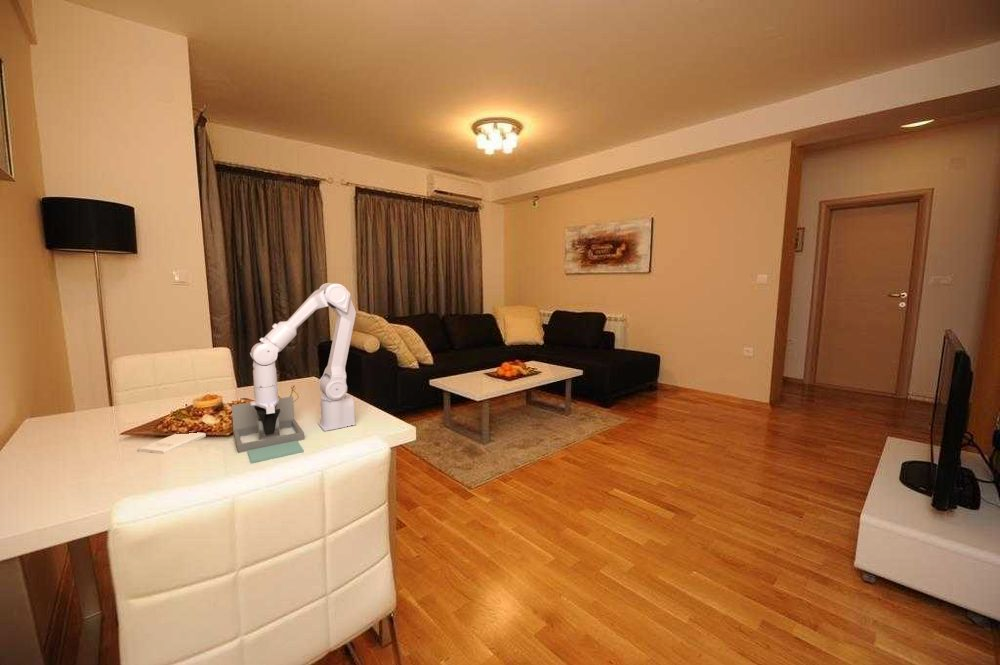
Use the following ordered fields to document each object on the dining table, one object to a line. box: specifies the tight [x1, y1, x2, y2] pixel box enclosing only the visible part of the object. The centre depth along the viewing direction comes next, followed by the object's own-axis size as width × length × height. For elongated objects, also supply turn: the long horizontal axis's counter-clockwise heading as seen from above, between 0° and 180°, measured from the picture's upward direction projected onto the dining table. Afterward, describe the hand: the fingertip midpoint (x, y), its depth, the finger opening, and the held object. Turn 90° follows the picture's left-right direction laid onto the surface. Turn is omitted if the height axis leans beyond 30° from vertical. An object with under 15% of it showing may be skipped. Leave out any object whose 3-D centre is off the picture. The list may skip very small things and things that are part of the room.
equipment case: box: [231, 395, 305, 454], centre depth 118 cm, size 16×15×9 cm
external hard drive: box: [137, 431, 207, 455], centre depth 113 cm, size 2×8×12 cm
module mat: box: [246, 441, 304, 464], centre depth 109 cm, size 12×8×1 cm, turn 126°
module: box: [257, 417, 281, 440], centre depth 118 cm, size 5×4×6 cm
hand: (268, 431), depth 118 cm, fingers closed on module, 4 cm apart
